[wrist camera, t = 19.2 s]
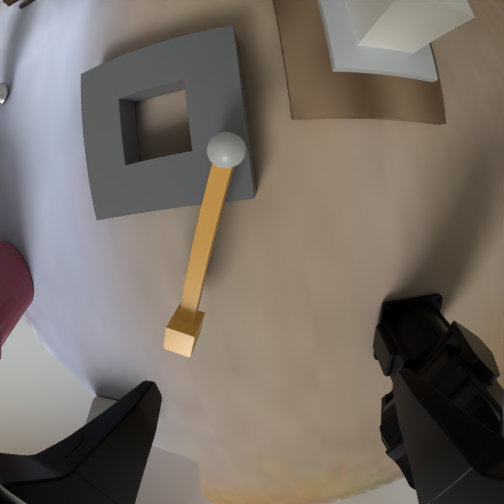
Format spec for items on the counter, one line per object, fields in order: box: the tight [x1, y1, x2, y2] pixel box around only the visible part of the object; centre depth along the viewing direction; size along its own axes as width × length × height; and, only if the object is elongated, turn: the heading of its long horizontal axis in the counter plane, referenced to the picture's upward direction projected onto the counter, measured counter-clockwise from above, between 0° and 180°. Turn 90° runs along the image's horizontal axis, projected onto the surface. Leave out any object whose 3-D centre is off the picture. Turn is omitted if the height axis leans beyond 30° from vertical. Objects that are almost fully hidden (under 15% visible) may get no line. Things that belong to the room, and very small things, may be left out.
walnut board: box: [273, 0, 446, 125], centre depth 14 cm, size 12×12×1 cm
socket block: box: [81, 25, 257, 220], centre depth 17 cm, size 12×12×2 cm
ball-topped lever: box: [164, 132, 248, 357], centre depth 16 cm, size 14×2×3 cm, turn 164°
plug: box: [317, 0, 475, 82], centre depth 9 cm, size 7×7×10 cm
